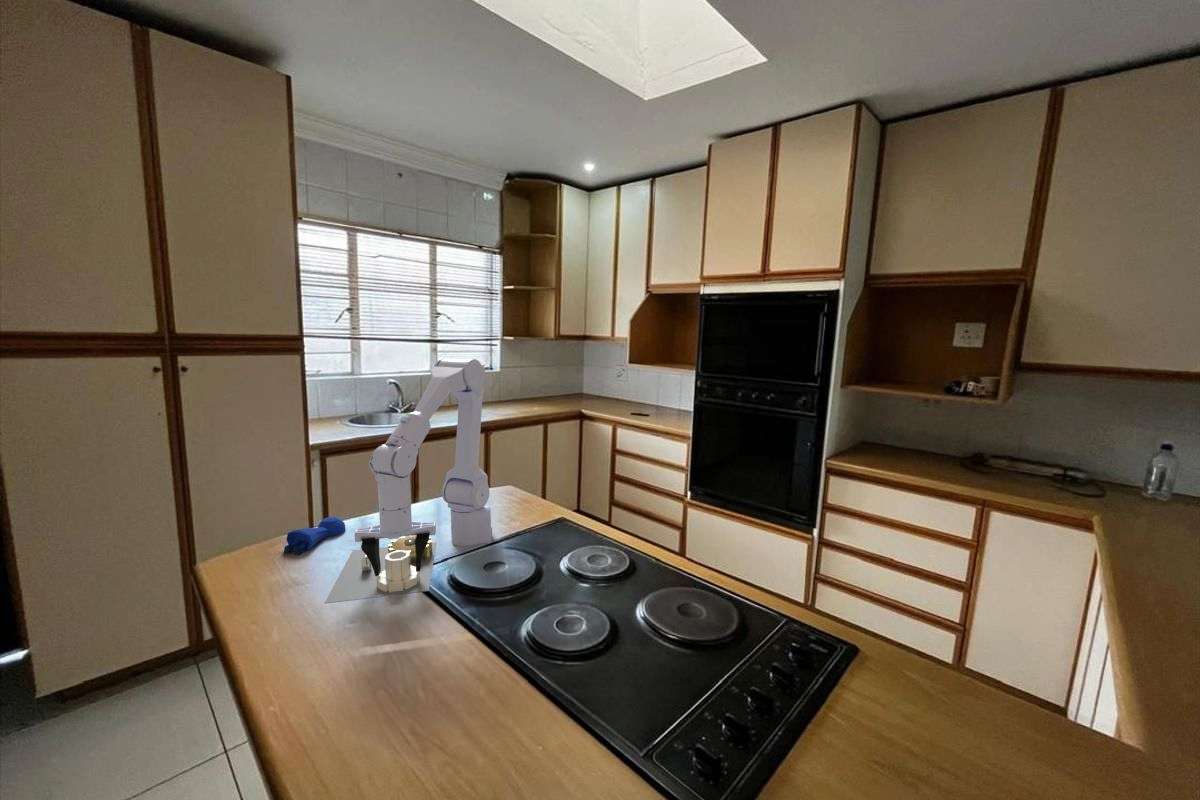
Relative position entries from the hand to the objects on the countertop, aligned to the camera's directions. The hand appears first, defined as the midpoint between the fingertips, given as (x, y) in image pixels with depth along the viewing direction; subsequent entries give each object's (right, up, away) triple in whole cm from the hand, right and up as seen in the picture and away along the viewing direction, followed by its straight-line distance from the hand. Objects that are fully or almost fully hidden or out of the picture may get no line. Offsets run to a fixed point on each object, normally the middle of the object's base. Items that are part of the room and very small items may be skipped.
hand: (398, 571), depth 96 cm
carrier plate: (-4, -2, +5) cm, 7 cm away
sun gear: (-2, -1, +11) cm, 11 cm away
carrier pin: (-8, -1, +4) cm, 9 cm away
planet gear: (0, -2, 0) cm, 2 cm away
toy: (-27, 0, +19) cm, 33 cm away
